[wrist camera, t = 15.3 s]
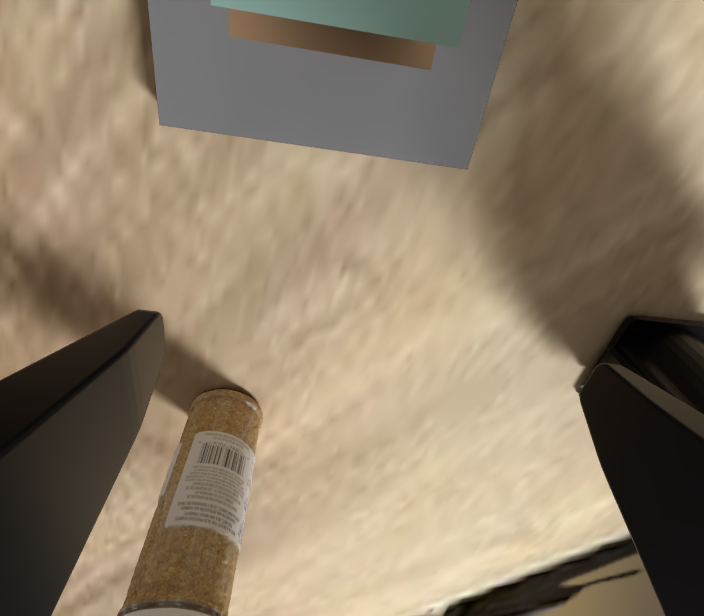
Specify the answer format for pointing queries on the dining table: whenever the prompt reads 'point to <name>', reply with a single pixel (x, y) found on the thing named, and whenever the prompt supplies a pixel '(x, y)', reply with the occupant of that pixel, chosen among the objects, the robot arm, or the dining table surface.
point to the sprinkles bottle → (199, 512)
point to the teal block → (371, 16)
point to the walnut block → (330, 39)
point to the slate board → (325, 87)
